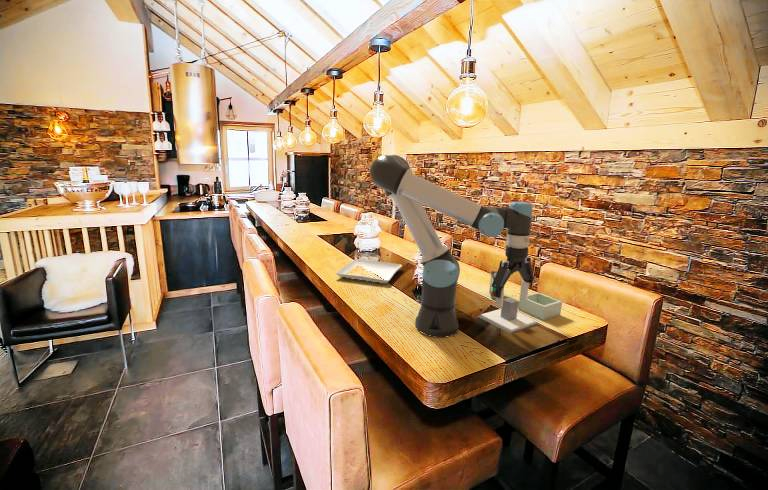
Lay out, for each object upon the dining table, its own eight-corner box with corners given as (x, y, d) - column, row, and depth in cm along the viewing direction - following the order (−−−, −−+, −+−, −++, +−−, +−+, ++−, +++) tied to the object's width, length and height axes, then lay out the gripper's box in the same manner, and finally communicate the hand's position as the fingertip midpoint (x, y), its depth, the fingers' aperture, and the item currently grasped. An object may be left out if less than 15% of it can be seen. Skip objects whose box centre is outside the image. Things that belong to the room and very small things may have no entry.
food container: (506, 302, 150) (509, 280, 148) (491, 301, 151) (493, 279, 149) (503, 292, 162) (505, 271, 159) (489, 291, 163) (491, 270, 160)
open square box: (542, 321, 133) (544, 306, 132) (518, 310, 142) (519, 296, 141) (560, 315, 139) (562, 301, 137) (535, 305, 148) (537, 292, 146)
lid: (510, 332, 123) (513, 311, 121) (480, 316, 135) (482, 297, 133) (536, 323, 130) (539, 303, 128) (505, 309, 142) (507, 290, 140)
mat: (511, 335, 122) (511, 334, 122) (476, 317, 135) (476, 316, 135) (540, 325, 130) (540, 324, 130) (505, 309, 143) (505, 308, 143)
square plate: (334, 280, 172) (334, 272, 172) (355, 264, 198) (355, 258, 197) (388, 287, 165) (388, 279, 164) (402, 270, 190) (402, 263, 189)
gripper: (501, 252, 116) (496, 312, 121) (548, 244, 129) (541, 298, 134) (484, 247, 122) (479, 305, 127) (530, 240, 135) (524, 292, 140)
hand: (511, 302), depth 131 cm, fingers open, 13 cm apart
